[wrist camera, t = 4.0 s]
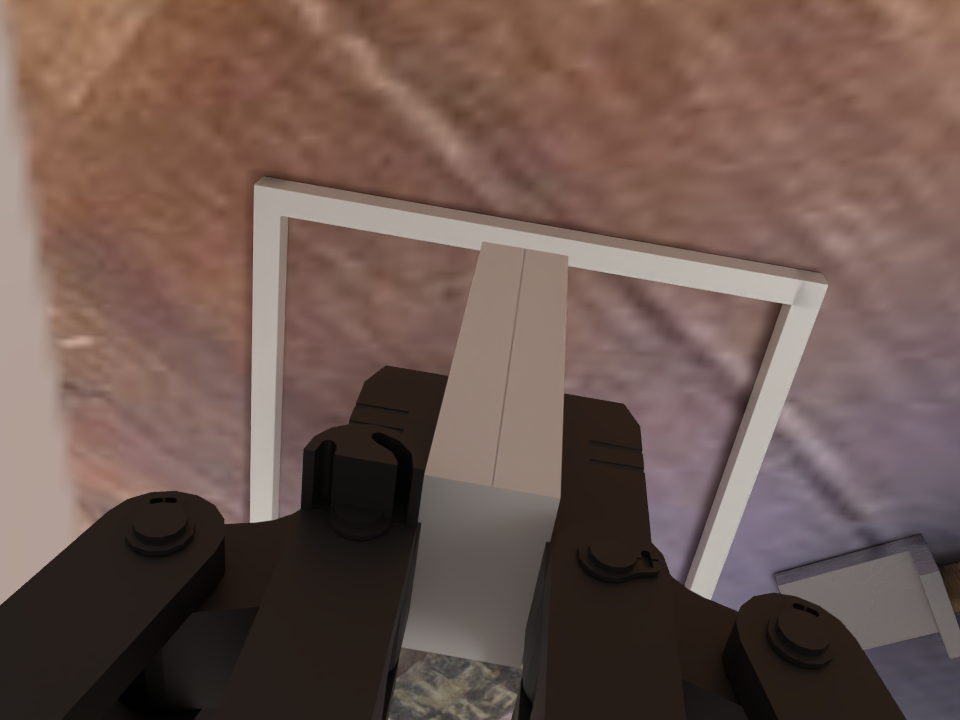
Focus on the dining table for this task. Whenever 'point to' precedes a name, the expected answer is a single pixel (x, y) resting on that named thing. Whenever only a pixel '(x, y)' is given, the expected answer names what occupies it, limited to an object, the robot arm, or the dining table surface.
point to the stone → (452, 688)
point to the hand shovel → (884, 593)
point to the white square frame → (583, 251)
